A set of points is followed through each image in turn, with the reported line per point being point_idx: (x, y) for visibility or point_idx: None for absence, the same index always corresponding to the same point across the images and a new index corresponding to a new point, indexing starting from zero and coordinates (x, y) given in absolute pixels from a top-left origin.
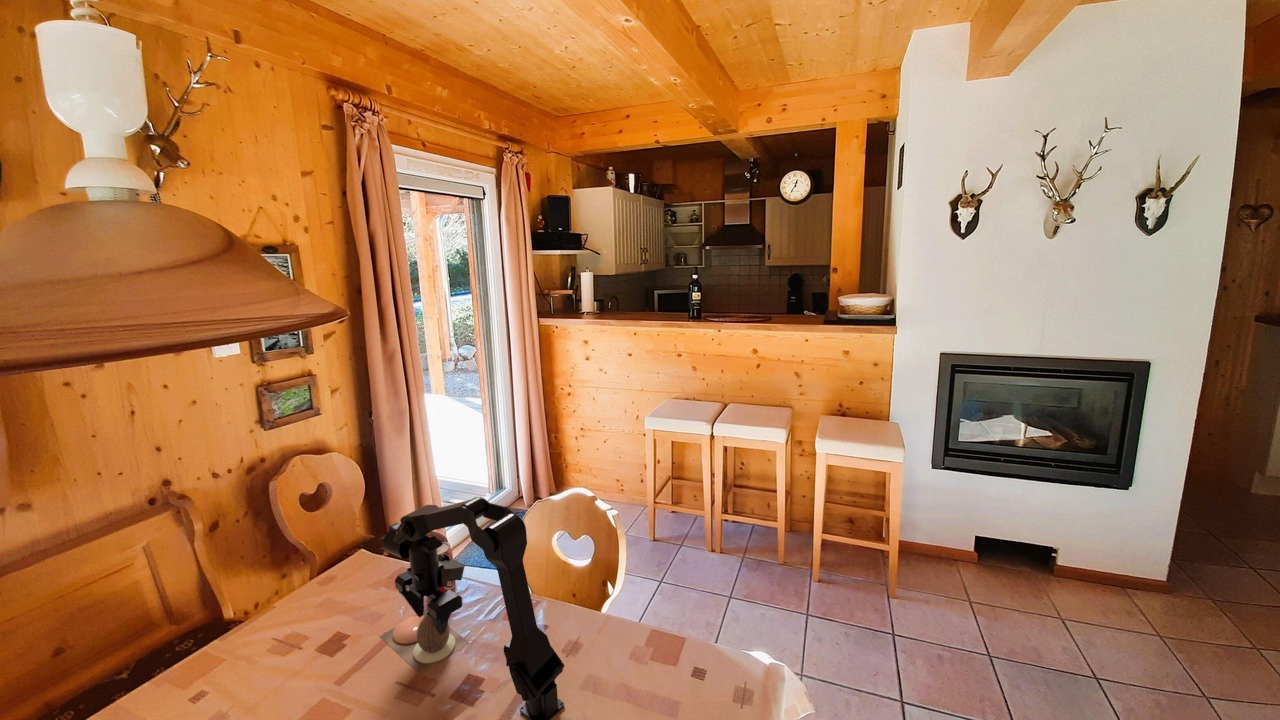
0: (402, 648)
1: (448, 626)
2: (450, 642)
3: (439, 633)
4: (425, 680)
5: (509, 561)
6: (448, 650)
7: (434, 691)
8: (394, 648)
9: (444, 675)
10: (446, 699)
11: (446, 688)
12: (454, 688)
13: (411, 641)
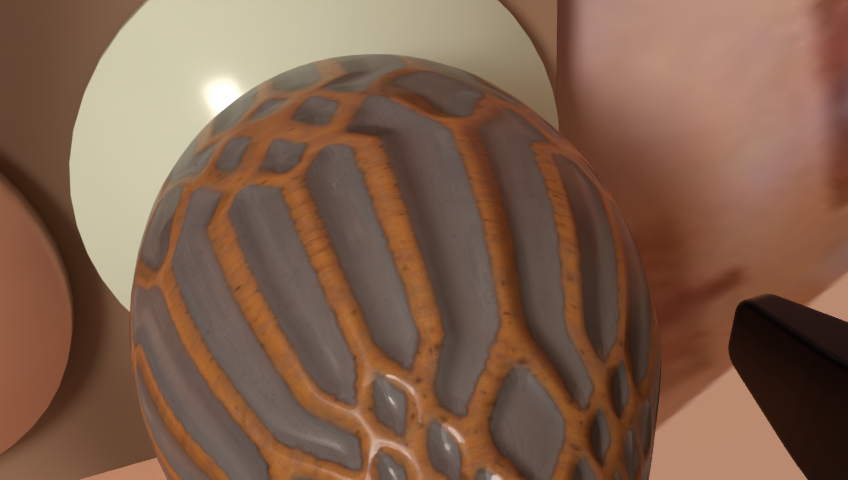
0: (97, 423)
1: (555, 143)
2: (414, 22)
3: (743, 377)
4: None
5: None
6: (525, 94)
7: (711, 269)
8: (49, 477)
9: (652, 174)
10: (831, 224)
11: (764, 199)
12: (816, 154)
13: (62, 368)
